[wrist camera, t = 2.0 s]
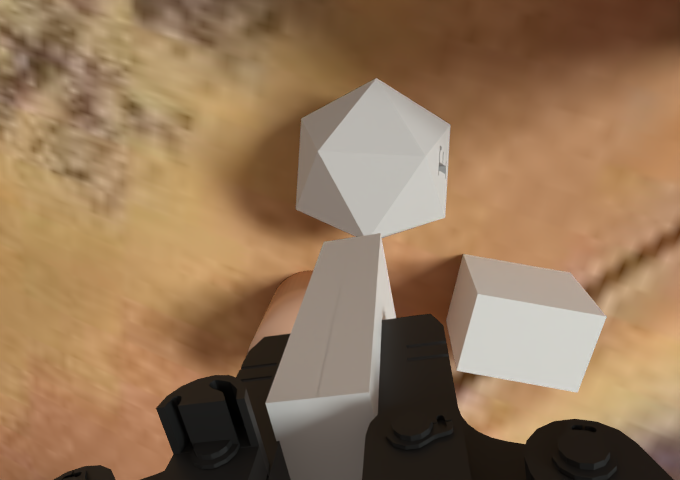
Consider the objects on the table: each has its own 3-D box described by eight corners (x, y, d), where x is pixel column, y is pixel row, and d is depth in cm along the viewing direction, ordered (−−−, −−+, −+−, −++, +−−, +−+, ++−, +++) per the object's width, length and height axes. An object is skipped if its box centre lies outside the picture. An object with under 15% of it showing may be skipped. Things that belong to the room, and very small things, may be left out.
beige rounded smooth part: (283, 352, 37) (260, 415, 31) (263, 277, 35) (234, 328, 29) (364, 341, 36) (359, 404, 30) (348, 264, 35) (338, 313, 28)
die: (386, 244, 34) (490, 248, 26) (264, 236, 30) (338, 238, 22) (393, 122, 35) (499, 86, 26) (272, 98, 31) (349, 47, 22)
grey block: (445, 319, 35) (456, 370, 30) (463, 253, 34) (477, 293, 28) (547, 338, 35) (577, 392, 29) (569, 272, 33) (606, 316, 28)
